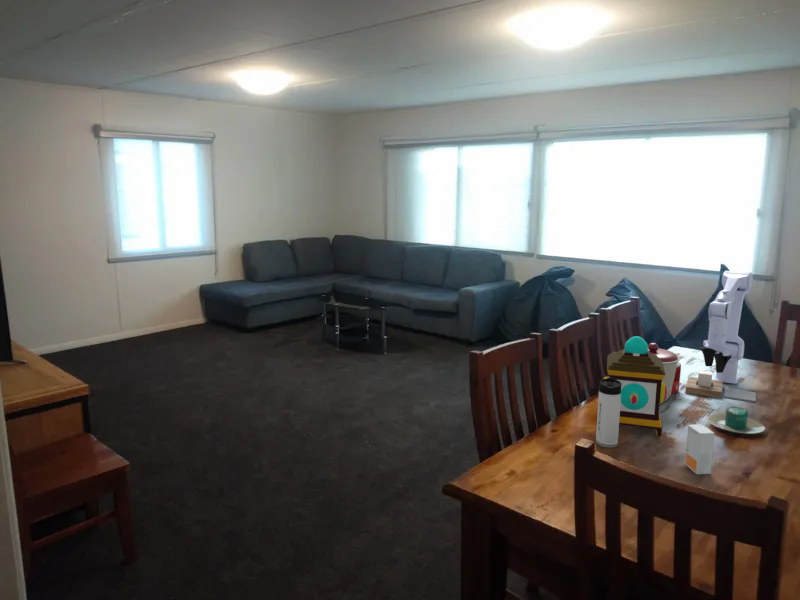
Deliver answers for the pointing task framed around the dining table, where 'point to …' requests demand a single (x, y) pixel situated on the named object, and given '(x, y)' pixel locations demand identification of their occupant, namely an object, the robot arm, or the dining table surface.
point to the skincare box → (699, 449)
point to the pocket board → (704, 388)
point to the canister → (666, 365)
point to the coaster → (740, 395)
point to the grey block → (705, 378)
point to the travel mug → (608, 413)
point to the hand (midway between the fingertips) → (713, 369)
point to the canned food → (676, 379)
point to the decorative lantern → (638, 384)
